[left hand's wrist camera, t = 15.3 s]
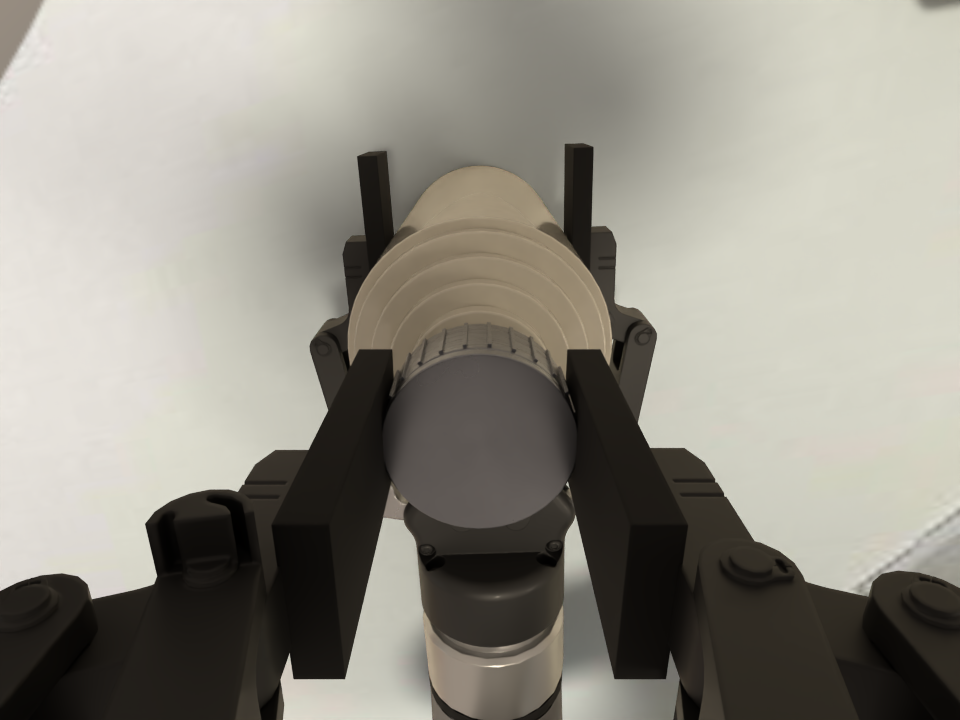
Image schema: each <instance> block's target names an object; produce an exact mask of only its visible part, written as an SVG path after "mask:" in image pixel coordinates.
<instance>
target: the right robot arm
mask: <svg viewBox="0 0 960 720" xmlns="http://www.w3.org/2000/svg"><path fill="white" fill-rule="evenodd" d="M357 159H358V168H359V178H360V188H361V197H362V207H363V216H364V226H365V235H357V236H352V237H351V238H350V239H349V240H348V241H346V244H345V247H344V251H343V262H344V268H345V269H344V270H345V277H346V287H347V295H348V304H349V313H348V314H346V315H344V316H342V317H339V318H332V319H329V320H327V321H326V322H325V323H324V324H323V326H322V327H321V328H320V330H319V331H318V333H317V334H316V335H315V337H314V338H313V340H312V341H311V343H310V352H311V355H312V359H313V362H314V365H315V368H316V372H317V375H318V378H319V382H320V385H321V388H322V391H323V395H324V398H325V401H326V404H327V408H328V410H329V408H330V406H331V404H332V402H333V400H334V398H335V396H336V394H337V392H338V390H339V388H340V386H341V384H342V382H343V380H344V378H345V376H346V374H347V372H348V370H349V368H350V360H349V353H348V328H349V322H350V315H351V312H352V308H353V305H354V302H355V299H356V297H357V294H358V292H359V290H360V288H361V286H362V284H363V282H364V281H365V279H366V277H367V276H368V274H369V273H370V271H371V270H372V268H373V267H374V265H375V264H376V262H377V261H378V259H379V258H380V256H381V255H382V253H383V252H384V250H385V249H386V247H387V246H388V244H389V243H390V241H391V240H392V238H393V237H394V231H393V219H392V208H391V197H390V185H389V174H388V163H387V151H379V152H367V153H365V154H362V155H360V156H357ZM592 183H593V147H592V146H589V145H586V144H583V143H578V144H565V179H564V234H565V236H566V237H567V239H568V240H569V242H570V243H571V245H572V246H573V248H574V249H575V251H576V252H577V254H578V255H579V256H580V258H581V259H582V261H583V262H584V264H585V265H586V267H587V268H588V270H589V271H590V273H591V274H592V276H593V278H594V280H595V281H596V283H597V285H598V286H599V288H600V290H601V293H602V295H603V298H604V300H605V302H606V306H607V309H608V313H609V317H610V323H611V332H612V339H614V340H613V345H612V352H611V358H610V364H609V367H610V369H611V371H612V373H613V375H614V377H615V379H616V381H617V383H618V385H619V387H620V389H621V391H622V393H623V395H624V397H625V399H626V401H627V403H628V405H629V407H630V409H631V411H632V413H633V415H634V417H635V419H636V421H637V423H638V419H639V415H640V410H641V406H642V401H643V397H644V392H645V388H646V384H647V379H648V375H649V370H650V366H651V362H652V357H653V353H654V348H655V344H656V340H657V333H656V331H655V329H654V328H653V326H652V325H651V324H650V323H649V321H648V320H647V319H646V318H645V316H644V315H643V314H642V312H640V311H639V310H638V309H636V308H626V307H622V306H619V305H617V304H615V302H614V290H615V266H616V242H615V239H614V236H613V233H612V232H611V231H610V230H609V229H608V228H607V227H606V226H596V227H591V220H592ZM575 515H576V513H575V509H574V505H573V500H572V496H571V492H570V489H569V488H568V486H567V485H565V486H564V488H563V489H562V491H561V492H560V493H559V494H558V495H557V496H556V497H555V499H554V500H552V501H551V502H550V503H549V504H548V505H547V506H546V507H544V508H543V509H541V510H540V511H538V512H537V513H535V514H534V515H532V516H530V517H528V518H526V519H524V520H521V521H519V522H516V523H513V524H509V525H506V526H501V527H495V528H481V529H477V528H465V527H459V526H454V525H450V524H447V523H444V522H441V521H438V520H436V519H434V518H431V517H430V516H428V515H426V514H424V513H423V512H421V511H420V510H418V509H417V508H415V507H414V506H413V505H411V504H410V503H409V502H408V501H407V500H406V499H405V498H404V497H403V496H402V495H401V493H400V492H399V491H398V490H397V488H396V487H395V485H394V484H393V482H391V486H390V490H389V494H388V499H387V503H386V507H385V511H384V516H383V517H385V518H392V519H399V520H404V523H405V525H406V527H407V528H408V530H409V531H410V532H411V533H412V535H413V537H414V538H415V541H416V545H417V554H418V565H419V576H420V587H421V598H422V605H423V609H424V614H423V622H424V631H425V640H426V650H427V659H428V668H429V679H430V686H431V699H432V718H433V720H562V690H561V681H562V667H563V605H562V604H563V598H564V541H565V535H566V533H567V530H568V529H569V527H570V526H571V524H572V523H573V521H574V518H575Z"/></svg>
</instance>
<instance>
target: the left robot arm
mask: <svg viewBox="0 0 960 720" xmlns="http://www.w3.org/2000/svg"><path fill="white" fill-rule="evenodd" d="M393 380H394V371H393V352H392V349H359V350H358V352H357V354H356V356H355V358H354V360H353V362H352V364H351V366H350V368H349V370H348V372H347V374H346V376H345V378H344V380H343V382H342V384H341V386H340V388H339V390H338V392H337V394H336V396H335V398H334V400H333V402H332V404H331V406H330V408H329V410H328V412H327V414H326V416H325V418H324V420H323V422H322V424H321V426H320V428H319V430H318V432H317V434H316V436H315V438H314V440H313V442H312V444H311V446H310V448H309V450H275V451H274V452H272V453H271V454H269V455H268V456H267V457H265V458H264V459H262V460H261V461H260V462H258V463H257V464H255V466H254V467H253V469H252V471H251V472H250V474H249V475H248V477H247V479H246V480H245V485H242V487H241V488H240V490H239V491H238V492H236V491H232V490H206V491H201V492H196V493H191V494H188V495H185V496H183V497H180V498H178V499H175V500H173V501H170V502H169V503H167V504H166V505H164V506H163V507H161V508H160V509H158V510H157V511H155V512H154V514H153V515H152V516H151V517H150V519H149V520H148V521H147V522H146V524H145V525H146V530H147V534H148V538H149V543H150V547H151V551H152V556H153V560H154V564H155V568H156V573H157V578H156V581H155V584H154V585H151V586H148V587H144V588H141V589H137V590H133V591H128V592H124V593H119V594H115V595H110V596H105V597H101V598H96V599H91V595H90V592H89V588H88V585H87V584H86V583H85V582H84V581H83V580H82V579H81V578H79V577H78V576H73V575H67V574H52V575H42V576H38V577H34V578H31V579H27V580H24V581H21V582H18V583H16V584H14V585H12V586H10V587H8V588H6V589H4V590H2V591H0V720H283V712H284V701H283V694H282V688H281V681H280V679H281V676H282V673H283V670H284V667H285V664H286V662H287V659H288V656H289V653H290V658H291V665H292V671H293V678H294V679H345V677H346V673H347V668H348V664H349V660H350V656H351V651H352V647H353V643H354V639H355V634H356V630H357V626H358V622H359V617H360V613H361V609H362V605H363V600H364V596H365V592H366V588H367V583H368V579H369V575H370V571H371V567H372V562H373V558H374V554H375V550H376V545H377V541H378V537H379V533H380V528H381V524H382V520H383V516H384V511H385V507H386V503H387V499H388V494H389V490H390V486H391V482H392V481H391V479H390V477H389V475H388V473H387V470H386V468H385V465H384V453H383V437H382V424H383V419H384V416H385V413H386V410H387V407H388V403H389V400H390V399H388V396H389V393H390V389H391V386H392V383H393ZM566 383H567V387H568V390H569V393H570V397H571V400H572V403H573V406H574V410H575V418H576V421H577V425H578V430H577V447H576V461H575V467H574V470H573V472H572V474H571V476H570V478H569V480H568V483H569V488H570V492H571V496H572V500H573V505H574V509H575V513H576V517H577V521H578V526H579V530H580V534H581V538H582V543H583V547H584V551H585V555H586V560H587V564H588V568H589V572H590V577H591V581H592V585H593V589H594V594H595V598H596V602H597V606H598V611H599V615H600V619H601V623H602V628H603V632H604V636H605V640H606V645H607V649H608V653H609V657H610V662H611V666H612V670H613V674H614V679H666V676H667V669H668V662H669V655H670V651H671V654H672V657H673V660H674V662H675V665H676V668H677V671H678V674H679V677H680V681H679V688H678V694H677V701H676V707H675V713H674V720H960V588H958V587H956V586H954V585H952V584H950V583H948V582H946V581H944V580H942V579H939V578H936V577H932V576H930V575H925V574H922V573H916V572H906V571H894V572H889V573H884V574H881V575H880V576H879V577H878V578H877V579H875V580H874V581H873V583H872V586H871V590H870V593H869V597H867V596H862V595H857V594H853V593H848V592H843V591H839V590H834V589H830V588H825V587H821V586H818V585H814V584H811V583H808V582H805V580H804V577H803V575H802V574H801V572H800V571H799V569H798V568H797V566H796V565H795V563H794V562H792V561H791V560H790V559H789V558H787V557H786V556H785V555H783V554H782V553H781V552H779V551H778V550H775V549H773V548H771V547H769V546H766V545H764V544H762V543H759V542H755V541H754V540H753V538H752V537H751V535H750V533H749V532H748V530H747V529H746V527H745V526H744V524H743V522H742V521H741V519H740V518H739V516H738V515H737V513H736V511H735V510H734V508H733V507H732V505H731V503H730V502H729V500H728V499H727V497H724V492H723V491H722V489H721V488H720V486H719V485H718V483H715V478H714V477H713V475H712V473H711V472H710V470H709V469H708V467H707V466H706V464H705V463H704V462H703V461H702V460H700V459H699V458H697V457H696V456H695V455H693V454H692V453H690V452H689V451H688V450H686V449H685V448H650V447H649V445H648V443H647V441H646V439H645V437H644V435H643V433H642V431H641V429H640V427H639V425H638V423H637V421H636V419H635V417H634V415H633V413H632V411H631V409H630V407H629V405H628V403H627V401H626V399H625V397H624V395H623V393H622V391H621V389H620V387H619V385H618V383H617V381H616V379H615V377H614V375H613V373H612V371H611V369H610V367H609V365H608V363H607V361H606V359H605V357H604V355H603V353H602V351H601V349H567V363H566Z"/></svg>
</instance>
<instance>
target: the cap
mask: <svg viewBox="0 0 960 720" xmlns="http://www.w3.org/2000/svg"><path fill="white" fill-rule="evenodd" d="M388 399H390V400H389V403H388V407H387V410H386V413H385V416H384V419H383V424H382V437H383V453H384V465H385V468H386V470H387V473H388V475H389V477H390V479H391V481H392V482H393V484H394V485H395V487H396V488H397V490H398V491H399V492H400V493H401V495H402V496H403V497H404V498H405V499H406V500H407V501H408V502H409V503H410V504H411V505H413V506H414V507H415V508H417V509H418V510H420V511H421V512H423V513H424V514H426V515H428V516H430V517H431V518H434V519H436V520H438V521H441V522H444V523H447V524H450V525H454V526H459V527H465V528H477V529H481V528H495V527H501V526H506V525H509V524H513V523H516V522H519V521H521V520H524V519H526V518H528V517H530V516H532V515H534V514H535V513H537V512H538V511H540V510H541V509H543V508H544V507H546V506H547V505H548V504H549V503H550V502H551V501H552V500H554V499H555V497H556V496H557V495H558V494H559V493H560V492H561V491H562V489H563V488H564V486H565V485H566V483H567V482H568V480H569V478H570V476H571V474H572V472H573V470H574V467H575V461H576V447H577V430H578V425H577V421H576V418H575V410H574V406H573V403H572V400H571V397H570V393H569V390H568V387H567V383H566V380H565V377H564V374H563V371H562V368H561V366H559V367H558V366H557V365H556V363H555V362H554V360H553V359H552V357H551V354H550V351H549V350H548V349H547V350H545V349H543V348H542V347H541V346H540V345H539V344H538V343H536V342H535V341H534V339H533V337H532V336H530V337H527V336H526V335H524V334H522V333H519V332H517V331H515V330H513V327H509V328H506V327H502V326H497V325H491V322H487V324H468V323H464V325H463V326H457V327H454V328H450V329H447V330H446V328H444V329H442V332H440V333H438V334H436V335H434V336H432V337H431V338H429V339H428V340H427V339H426V338H425V339H423V341H422V344H421V345H420V346H418V347H417V348H416V349H415V350H414V351H413V352H412V353H408V354H407V357H406V360H405V362H404V364H403V365H402V367H401V369H400V371H399V370H397V371H396V374H395V377H394V380H393V383H392V386H391V389H390V393H389V396H388Z"/></svg>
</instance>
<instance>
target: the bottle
mask: <svg viewBox="0 0 960 720" xmlns="http://www.w3.org/2000/svg"><path fill="white" fill-rule="evenodd" d="M487 322H491V325H497V326H502V327H506V328H509V327H513V330H515V331H517V332H519V333H522V334H524V335H526V336H527V337H530V336H532V337H533V339H534V341H535V342H536V343H538V344H539V345H540V346H541V347H542V348H543V349H545V350H547V349H548V350H549V351H550V354H551V357H552V359H553V360H554V362H555V363H556V365H557V366H558V367H559V366H561V368H562V371H563V374H564V377H565V380H566V363H567V349H601V351H602V353H603V355H604V357H605V359H606V361H607V363H608V365H609V364H610V358H611V352H612V332H611V323H610V317H609V313H608V309H607V306H606V302H605V300H604V298H603V295H602V293H601V290H600V288H599V286H598V285H597V283H596V281H595V280H594V278H593V276H592V274H591V273H590V271H589V270H588V268H587V267H586V265H585V264H584V262H583V261H582V259H581V258H580V256H579V255H578V254H577V252H576V251H575V249H574V248H573V246H572V245H571V243H570V242H569V240H568V239H567V237H566V236H565V234H564V233H563V231H562V230H561V228H560V227H559V225H558V224H557V222H556V221H555V219H554V218H553V216H552V215H551V213H550V212H549V210H548V209H547V207H546V206H545V204H544V203H543V201H542V200H541V198H540V197H539V196H538V194H537V193H536V192H535V191H534V189H533V188H532V187H531V186H529V185H528V184H527V183H526V182H525V181H524V180H522V179H521V178H520V177H518V176H516V175H514V174H512V173H511V172H508V171H506V170H503V169H500V168H496V167H491V166H469V167H464V168H460V169H457V170H454V171H452V172H449V173H447V174H445V175H443V176H442V177H441V178H439V179H438V180H436V181H435V182H434V183H433V184H431V185H430V186H429V187H428V188H427V189H426V191H425V192H424V193H423V194H422V195H421V197H420V198H419V200H418V201H417V203H416V204H415V206H414V207H413V209H412V210H411V212H410V213H409V215H408V216H407V218H406V219H405V221H404V222H403V224H402V225H401V227H400V228H399V230H398V231H397V233H396V234H395V236H394V237H393V238H392V240H391V241H390V243H389V244H388V246H387V247H386V249H385V250H384V252H383V253H382V255H381V256H380V258H379V259H378V261H377V262H376V264H375V265H374V267H373V268H372V270H371V271H370V273H369V274H368V276H367V277H366V279H365V281H364V282H363V284H362V286H361V288H360V290H359V292H358V294H357V297H356V299H355V302H354V305H353V308H352V312H351V315H350V322H349V328H348V353H349V360H350V366H351V364H352V362H353V360H354V358H355V356H356V354H357V352H358V350H359V349H392V352H393V371H394V377H395V374H396V371H397V370H399V371H400V369H401V367H402V365H403V364H404V362H405V360H406V357H407V354H408V353H412V352H413V351H414V350H415V349H416V348H417V347H418V346H420V345H421V344H422V341H423V339H425V338H426V339H427V340H428V339H429V338H431V337H432V336H434V335H436V334H438V333H440V332H442V329H444V328H446V330H447V329H450V328H454V327H457V326H463V325H464V323H468V324H487Z"/></svg>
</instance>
